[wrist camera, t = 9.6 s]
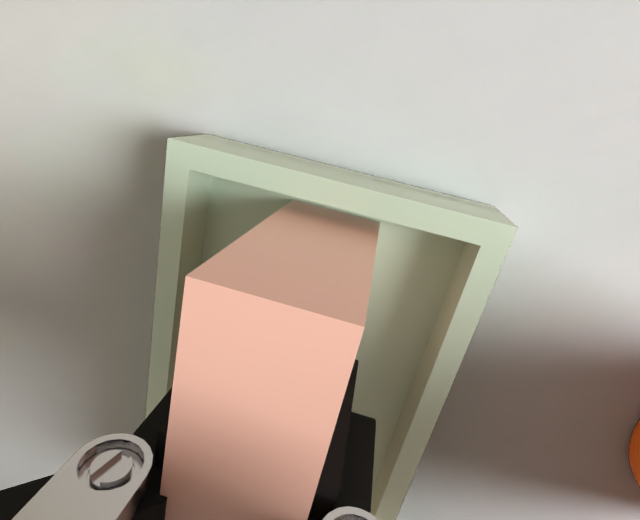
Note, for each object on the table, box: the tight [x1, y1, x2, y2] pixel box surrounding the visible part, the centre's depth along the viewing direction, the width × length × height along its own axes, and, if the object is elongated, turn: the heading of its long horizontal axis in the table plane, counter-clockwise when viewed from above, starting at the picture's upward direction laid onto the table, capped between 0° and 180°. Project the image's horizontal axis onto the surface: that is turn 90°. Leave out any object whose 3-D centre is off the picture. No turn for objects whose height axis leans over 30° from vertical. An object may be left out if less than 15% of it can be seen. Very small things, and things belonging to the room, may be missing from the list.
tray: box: [145, 134, 518, 520], centre depth 13 cm, size 8×16×2 cm, turn 167°
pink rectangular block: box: [160, 200, 380, 520], centre depth 10 cm, size 2×11×6 cm, turn 167°
